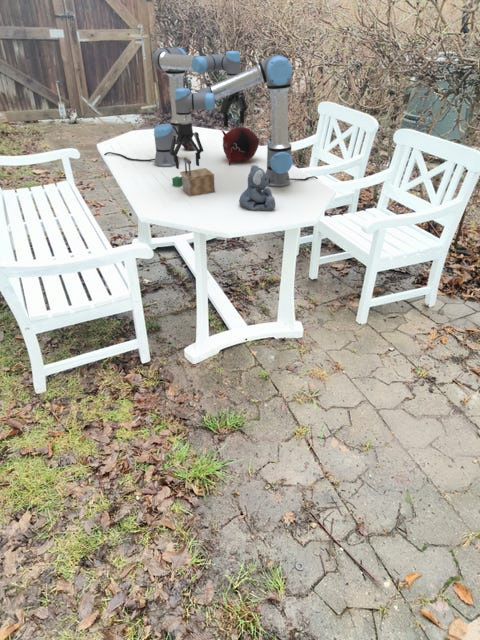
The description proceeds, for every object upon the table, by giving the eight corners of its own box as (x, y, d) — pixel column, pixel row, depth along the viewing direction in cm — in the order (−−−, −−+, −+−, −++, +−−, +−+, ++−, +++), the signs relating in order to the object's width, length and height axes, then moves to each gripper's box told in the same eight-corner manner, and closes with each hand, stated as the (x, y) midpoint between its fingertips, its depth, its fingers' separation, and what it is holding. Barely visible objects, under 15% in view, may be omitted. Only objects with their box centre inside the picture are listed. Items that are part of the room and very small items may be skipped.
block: (178, 186, 255) (177, 179, 253) (172, 185, 257) (172, 178, 255) (183, 184, 258) (182, 177, 256) (177, 183, 260) (176, 176, 258)
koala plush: (276, 211, 223) (277, 171, 212) (240, 212, 222) (240, 172, 211) (271, 199, 237) (272, 161, 226) (237, 200, 236) (237, 162, 225)
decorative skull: (219, 133, 304) (219, 130, 280) (253, 125, 303) (256, 122, 279) (226, 165, 310) (227, 165, 287) (260, 158, 310) (263, 157, 286)
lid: (187, 180, 237) (186, 162, 232) (180, 174, 246) (178, 156, 241) (214, 176, 243) (213, 158, 237) (205, 170, 252) (204, 153, 246)
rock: (192, 148, 330) (179, 150, 326) (190, 136, 327) (178, 137, 323) (198, 149, 321) (185, 151, 317) (197, 136, 317) (184, 137, 313)
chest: (190, 196, 242) (189, 180, 238) (182, 189, 251) (181, 174, 246) (214, 192, 248) (214, 176, 243) (206, 185, 256) (205, 170, 252)
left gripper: (222, 86, 238) (223, 129, 250) (253, 82, 253) (253, 122, 265) (212, 85, 242) (214, 127, 254) (243, 80, 257) (243, 120, 269)
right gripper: (164, 126, 220) (169, 171, 233) (208, 121, 229) (210, 165, 241) (160, 123, 226) (164, 168, 238) (202, 119, 234) (205, 162, 247)
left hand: (234, 125), depth 259 cm, fingers open, 13 cm apart
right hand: (187, 166), depth 240 cm, fingers open, 11 cm apart
